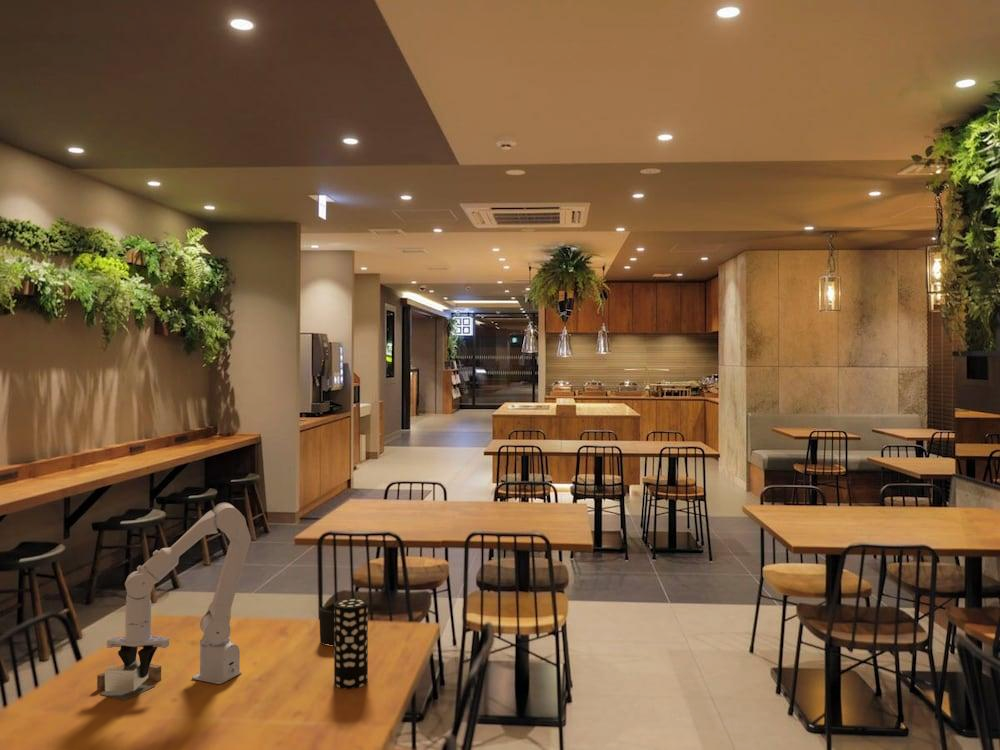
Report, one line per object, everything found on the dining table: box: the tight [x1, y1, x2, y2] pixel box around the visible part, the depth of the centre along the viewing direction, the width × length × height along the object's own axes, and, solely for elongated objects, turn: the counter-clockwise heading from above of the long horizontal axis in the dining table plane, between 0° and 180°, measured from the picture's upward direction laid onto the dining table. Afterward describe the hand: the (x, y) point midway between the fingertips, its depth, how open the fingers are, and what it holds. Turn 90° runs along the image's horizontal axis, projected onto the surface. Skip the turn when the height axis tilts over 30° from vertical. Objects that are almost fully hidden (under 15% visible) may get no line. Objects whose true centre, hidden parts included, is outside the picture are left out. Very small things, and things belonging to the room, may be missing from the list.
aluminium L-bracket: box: [104, 657, 149, 692], centre depth 175 cm, size 7×7×5 cm
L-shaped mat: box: [99, 682, 156, 701], centre depth 176 cm, size 8×8×1 cm
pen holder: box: [318, 602, 335, 645], centre depth 210 cm, size 9×9×10 cm
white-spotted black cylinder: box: [333, 597, 369, 690], centre depth 181 cm, size 8×8×20 cm
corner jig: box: [96, 663, 162, 691], centre depth 179 cm, size 10×10×4 cm
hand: (137, 676), depth 176 cm, fingers closed on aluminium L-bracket, 2 cm apart
